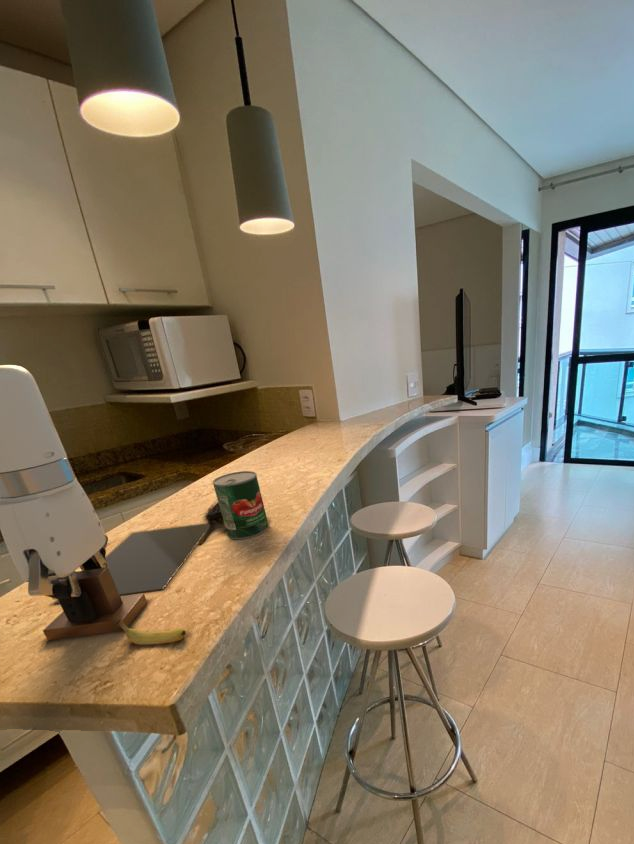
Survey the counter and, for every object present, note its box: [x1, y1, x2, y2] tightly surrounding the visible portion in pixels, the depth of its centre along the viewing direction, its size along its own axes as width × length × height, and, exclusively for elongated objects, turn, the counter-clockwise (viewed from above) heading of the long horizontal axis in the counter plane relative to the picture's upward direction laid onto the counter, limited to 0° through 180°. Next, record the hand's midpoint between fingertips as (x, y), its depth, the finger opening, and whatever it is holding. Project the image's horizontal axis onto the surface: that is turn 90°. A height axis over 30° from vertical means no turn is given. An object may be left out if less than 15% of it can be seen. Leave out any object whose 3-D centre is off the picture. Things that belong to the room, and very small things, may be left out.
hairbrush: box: [205, 498, 223, 521], centre depth 94 cm, size 8×4×25 cm
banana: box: [115, 619, 186, 646], centre depth 49 cm, size 8×2×4 cm, turn 87°
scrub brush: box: [42, 568, 148, 641], centre depth 54 cm, size 10×6×8 cm, turn 94°
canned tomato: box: [212, 470, 270, 541], centre depth 78 cm, size 8×8×11 cm
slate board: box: [53, 522, 214, 605], centre depth 72 cm, size 16×24×1 cm, turn 4°
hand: (94, 607), depth 54 cm, fingers open, 4 cm apart
